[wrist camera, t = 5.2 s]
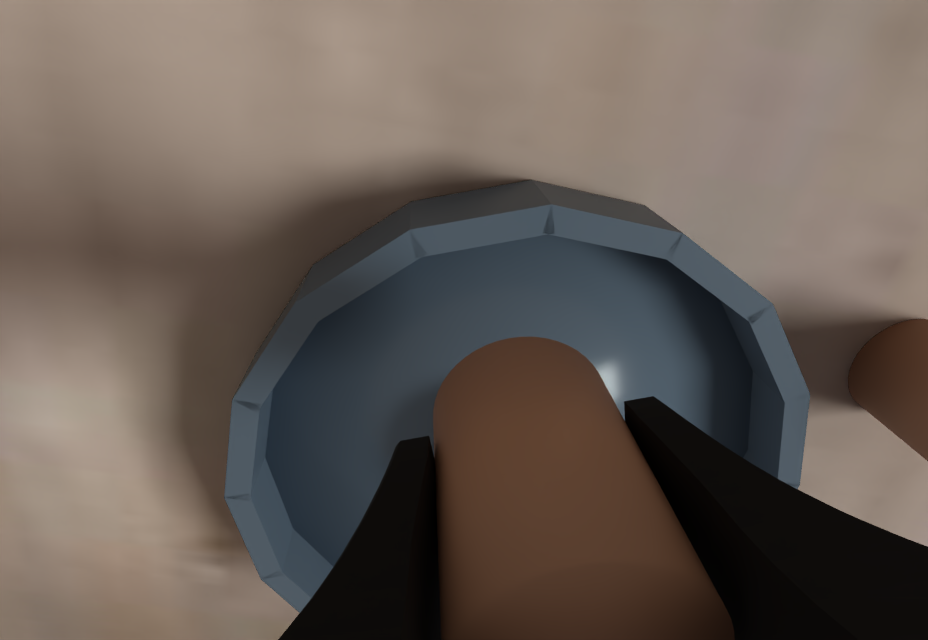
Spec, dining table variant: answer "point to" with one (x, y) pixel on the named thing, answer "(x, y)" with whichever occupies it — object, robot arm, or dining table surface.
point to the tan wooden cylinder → (555, 510)
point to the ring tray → (478, 324)
